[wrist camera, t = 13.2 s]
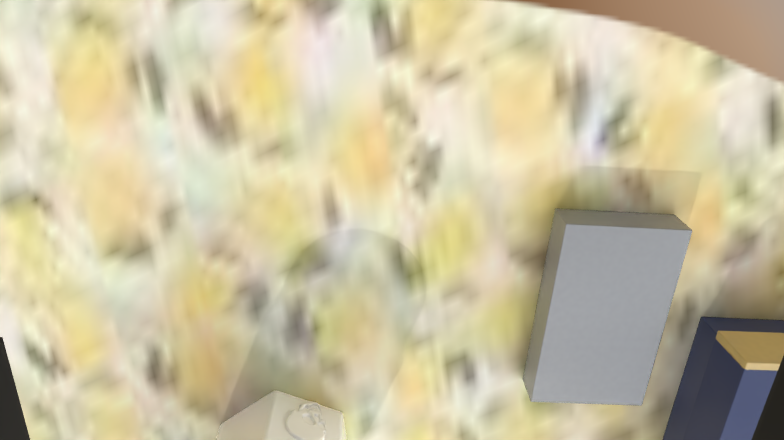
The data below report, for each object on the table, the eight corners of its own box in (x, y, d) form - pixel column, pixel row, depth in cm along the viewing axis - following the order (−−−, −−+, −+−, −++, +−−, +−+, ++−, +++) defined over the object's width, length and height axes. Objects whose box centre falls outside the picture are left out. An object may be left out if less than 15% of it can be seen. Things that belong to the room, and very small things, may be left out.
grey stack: (540, 183, 37) (565, 216, 32) (656, 189, 37) (696, 223, 33) (511, 352, 41) (528, 402, 37) (613, 355, 42) (643, 405, 37)
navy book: (717, 330, 35) (746, 362, 33) (868, 335, 36) (910, 367, 33) (665, 491, 40) (687, 531, 37) (798, 494, 41) (829, 533, 38)
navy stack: (675, 292, 40) (715, 336, 35) (809, 298, 41) (865, 342, 36) (633, 437, 45) (663, 493, 40) (753, 441, 45) (796, 496, 41)
